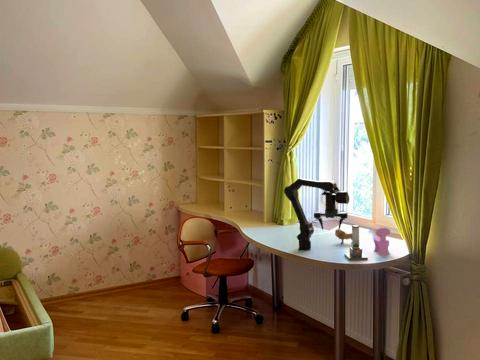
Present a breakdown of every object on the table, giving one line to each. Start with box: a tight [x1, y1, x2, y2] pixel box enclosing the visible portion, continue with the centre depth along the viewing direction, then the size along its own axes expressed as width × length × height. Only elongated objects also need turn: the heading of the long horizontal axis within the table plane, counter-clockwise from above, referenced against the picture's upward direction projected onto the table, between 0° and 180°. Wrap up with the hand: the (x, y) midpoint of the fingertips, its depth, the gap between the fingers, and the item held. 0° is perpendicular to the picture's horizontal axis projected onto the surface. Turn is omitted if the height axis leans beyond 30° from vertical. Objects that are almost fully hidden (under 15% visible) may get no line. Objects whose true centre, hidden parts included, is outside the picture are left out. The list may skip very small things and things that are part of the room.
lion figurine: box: [334, 228, 360, 245], centre depth 284 cm, size 15×5×9 cm, turn 72°
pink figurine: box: [373, 227, 391, 256], centre depth 260 cm, size 8×9×15 cm
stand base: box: [343, 246, 369, 262], centre depth 252 cm, size 10×10×6 cm
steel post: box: [351, 224, 360, 249], centre depth 251 cm, size 4×4×12 cm
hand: (330, 229), depth 265 cm, fingers open, 9 cm apart
